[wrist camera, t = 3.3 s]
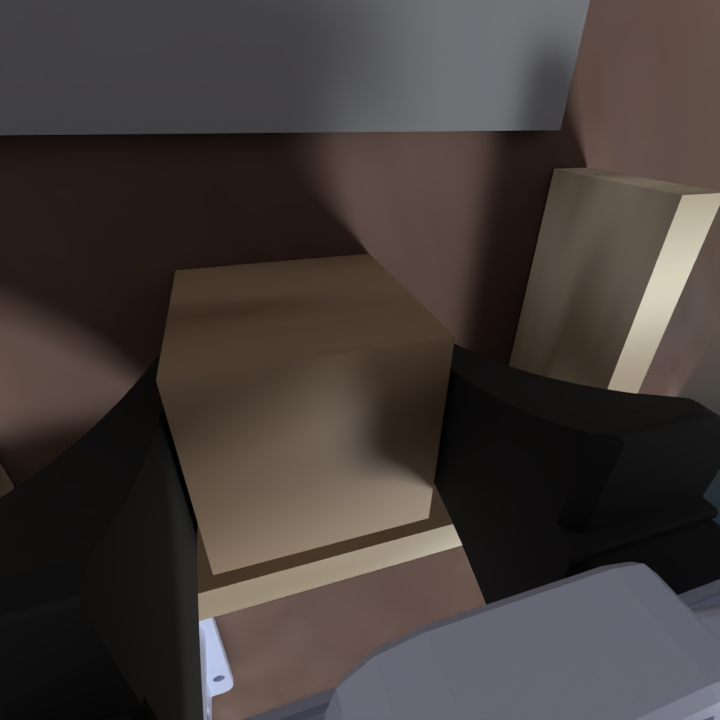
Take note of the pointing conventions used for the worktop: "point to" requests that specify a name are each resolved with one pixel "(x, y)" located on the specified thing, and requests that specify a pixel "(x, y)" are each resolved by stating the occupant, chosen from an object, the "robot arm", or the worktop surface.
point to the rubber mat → (285, 65)
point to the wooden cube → (301, 403)
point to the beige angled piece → (532, 348)
